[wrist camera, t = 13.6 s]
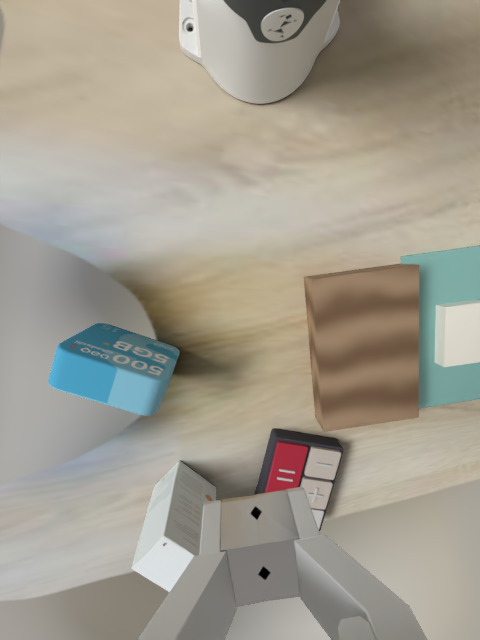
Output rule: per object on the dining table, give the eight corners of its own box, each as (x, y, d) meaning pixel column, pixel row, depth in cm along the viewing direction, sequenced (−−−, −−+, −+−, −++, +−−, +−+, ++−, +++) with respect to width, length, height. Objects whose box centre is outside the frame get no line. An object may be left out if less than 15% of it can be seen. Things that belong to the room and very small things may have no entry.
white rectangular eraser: (487, 301, 42) (475, 299, 44) (445, 307, 41) (435, 304, 43) (483, 361, 44) (472, 357, 46) (444, 367, 43) (434, 362, 45)
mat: (400, 256, 42) (402, 256, 42) (490, 244, 42) (491, 244, 42) (402, 409, 47) (403, 410, 47) (481, 397, 48) (483, 398, 47)
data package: (181, 348, 43) (166, 383, 31) (172, 375, 44) (153, 419, 32) (99, 320, 42) (51, 346, 30) (91, 349, 42) (40, 386, 31)
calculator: (346, 451, 44) (321, 537, 47) (335, 435, 49) (313, 514, 51) (276, 439, 43) (253, 528, 46) (271, 424, 48) (251, 506, 50)
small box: (153, 485, 48) (128, 569, 35) (179, 459, 47) (163, 535, 34) (192, 512, 49) (181, 602, 36) (217, 487, 48) (216, 570, 36)
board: (303, 277, 42) (312, 279, 38) (400, 263, 42) (419, 264, 38) (315, 416, 47) (323, 431, 43) (402, 403, 47) (418, 417, 43)
